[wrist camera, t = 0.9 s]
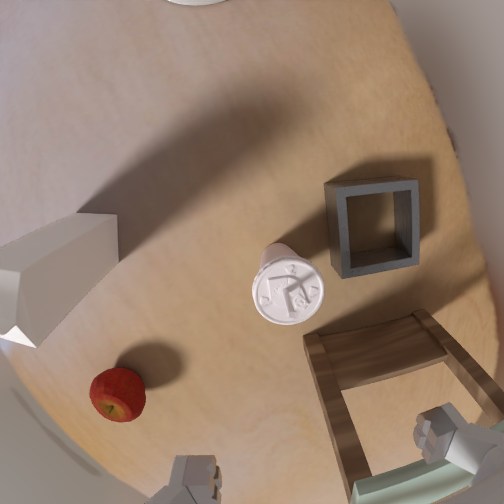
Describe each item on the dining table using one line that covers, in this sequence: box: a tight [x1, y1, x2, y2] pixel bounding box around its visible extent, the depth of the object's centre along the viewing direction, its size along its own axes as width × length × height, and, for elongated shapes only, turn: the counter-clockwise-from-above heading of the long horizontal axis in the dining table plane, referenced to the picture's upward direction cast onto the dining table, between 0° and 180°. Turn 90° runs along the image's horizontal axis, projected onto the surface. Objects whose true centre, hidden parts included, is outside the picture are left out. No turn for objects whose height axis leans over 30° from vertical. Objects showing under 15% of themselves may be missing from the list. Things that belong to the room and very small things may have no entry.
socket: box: [324, 176, 420, 279], centre depth 33 cm, size 10×10×4 cm
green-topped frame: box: [303, 309, 504, 504], centre depth 27 cm, size 7×19×26 cm, turn 99°
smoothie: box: [253, 243, 325, 325], centre depth 30 cm, size 6×6×14 cm
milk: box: [0, 213, 119, 348], centre depth 24 cm, size 6×6×22 cm
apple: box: [89, 367, 146, 422], centre depth 37 cm, size 8×8×8 cm
